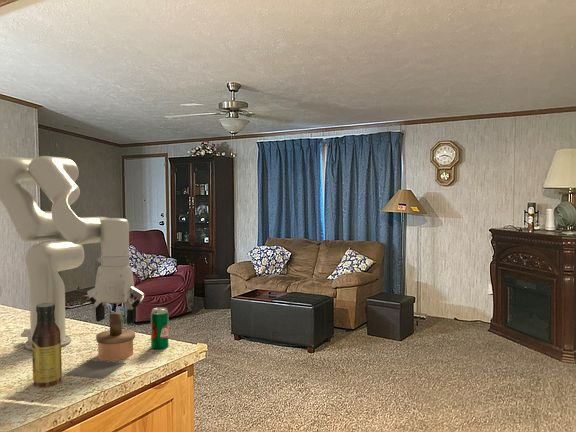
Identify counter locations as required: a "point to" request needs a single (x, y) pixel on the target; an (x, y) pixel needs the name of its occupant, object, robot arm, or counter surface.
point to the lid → (115, 331)
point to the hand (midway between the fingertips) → (115, 321)
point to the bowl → (115, 350)
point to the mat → (95, 369)
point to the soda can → (159, 328)
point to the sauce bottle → (46, 348)
